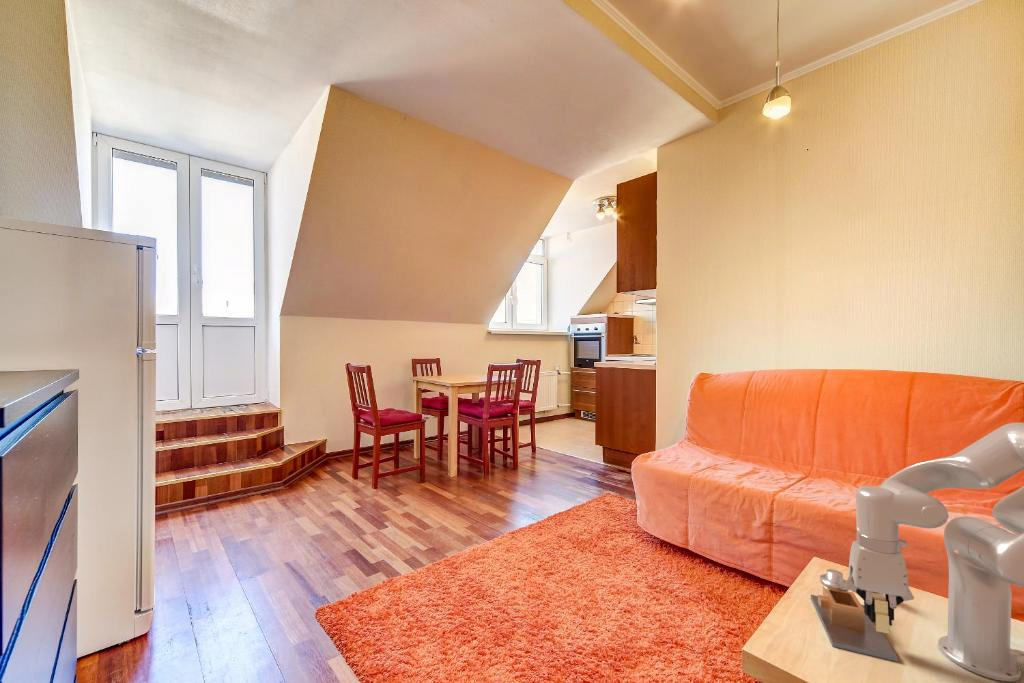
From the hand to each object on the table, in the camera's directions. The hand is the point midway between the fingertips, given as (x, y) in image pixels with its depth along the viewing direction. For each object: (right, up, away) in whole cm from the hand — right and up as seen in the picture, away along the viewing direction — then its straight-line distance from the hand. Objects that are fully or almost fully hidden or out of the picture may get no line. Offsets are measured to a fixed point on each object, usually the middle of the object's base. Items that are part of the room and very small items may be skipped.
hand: (879, 619), depth 100 cm
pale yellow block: (0, -2, 0) cm, 2 cm away
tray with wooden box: (-1, -7, +7) cm, 10 cm away
